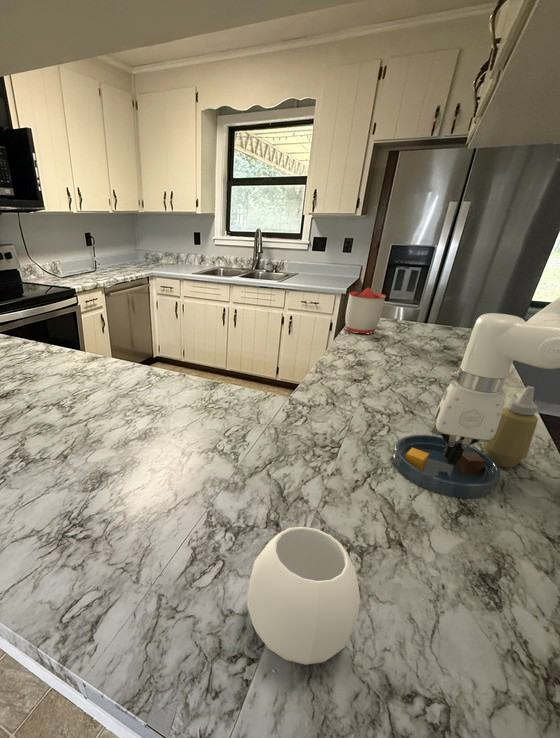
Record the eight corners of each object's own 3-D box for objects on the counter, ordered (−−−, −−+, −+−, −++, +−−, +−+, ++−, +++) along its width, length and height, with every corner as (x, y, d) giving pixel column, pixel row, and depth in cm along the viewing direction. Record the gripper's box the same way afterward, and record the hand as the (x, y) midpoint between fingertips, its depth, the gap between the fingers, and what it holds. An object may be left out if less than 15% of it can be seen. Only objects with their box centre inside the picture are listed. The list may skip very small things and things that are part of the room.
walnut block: (470, 465, 86) (476, 452, 84) (479, 475, 83) (485, 461, 81) (454, 464, 86) (459, 451, 84) (462, 474, 83) (467, 460, 81)
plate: (479, 456, 90) (484, 443, 88) (507, 510, 74) (515, 495, 72) (388, 441, 95) (392, 428, 94) (396, 487, 79) (400, 473, 77)
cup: (333, 587, 57) (351, 516, 51) (362, 683, 46) (390, 606, 40) (242, 582, 58) (249, 511, 52) (247, 676, 46) (257, 598, 40)
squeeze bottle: (516, 456, 90) (549, 383, 82) (524, 475, 84) (562, 398, 75) (474, 448, 93) (503, 377, 85) (480, 465, 87) (511, 390, 78)
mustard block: (424, 467, 85) (429, 453, 83) (419, 474, 83) (424, 460, 81) (408, 460, 87) (412, 447, 85) (402, 467, 85) (406, 453, 83)
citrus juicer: (370, 327, 193) (380, 284, 184) (381, 337, 178) (392, 291, 169) (338, 325, 194) (345, 283, 185) (346, 335, 179) (355, 289, 170)
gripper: (439, 381, 74) (413, 463, 83) (533, 393, 70) (495, 478, 79) (432, 368, 81) (409, 445, 89) (518, 379, 77) (484, 458, 85)
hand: (449, 460), depth 84 cm, fingers closed
